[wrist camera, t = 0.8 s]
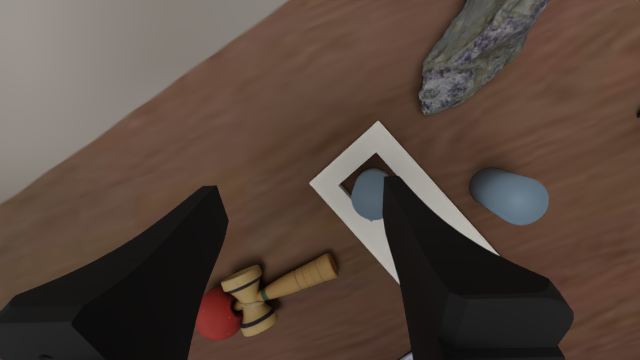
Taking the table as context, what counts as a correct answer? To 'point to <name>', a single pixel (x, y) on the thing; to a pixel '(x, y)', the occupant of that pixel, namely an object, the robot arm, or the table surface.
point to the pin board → (402, 166)
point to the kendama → (254, 299)
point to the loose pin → (510, 195)
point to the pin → (369, 193)
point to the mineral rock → (475, 49)
